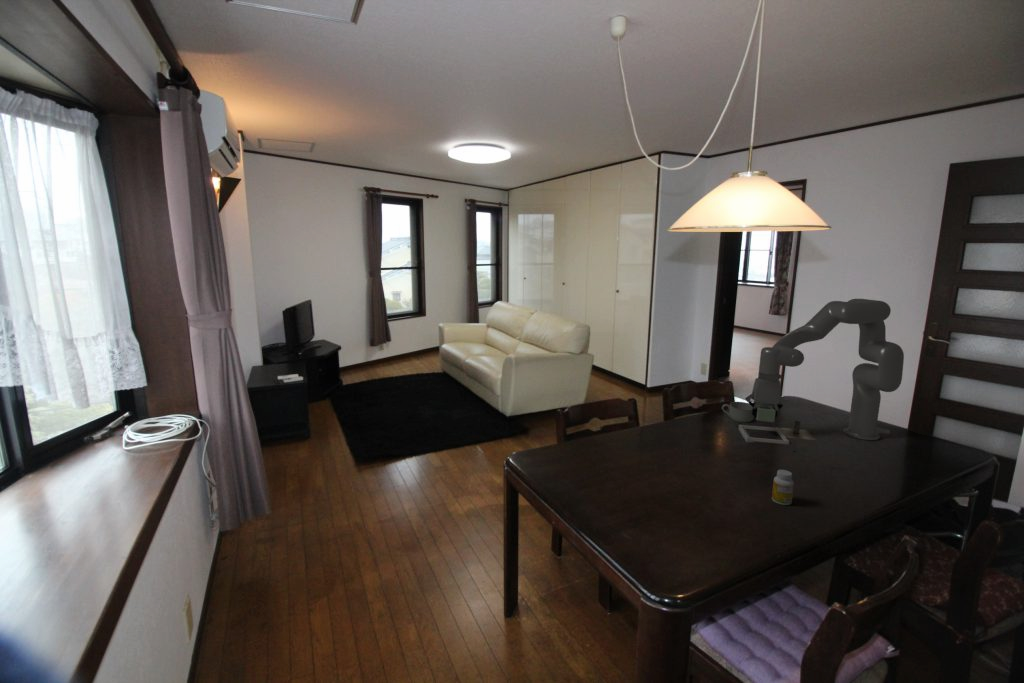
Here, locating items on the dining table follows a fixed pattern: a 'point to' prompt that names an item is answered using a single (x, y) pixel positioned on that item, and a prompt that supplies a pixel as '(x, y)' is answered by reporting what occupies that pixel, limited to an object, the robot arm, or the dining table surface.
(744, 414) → the teacup
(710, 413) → the dining table surface
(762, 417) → the green hollow square block
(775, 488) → the supplement bottle
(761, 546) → the dining table surface
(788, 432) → the wooden peg base
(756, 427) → the tray
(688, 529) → the dining table surface
